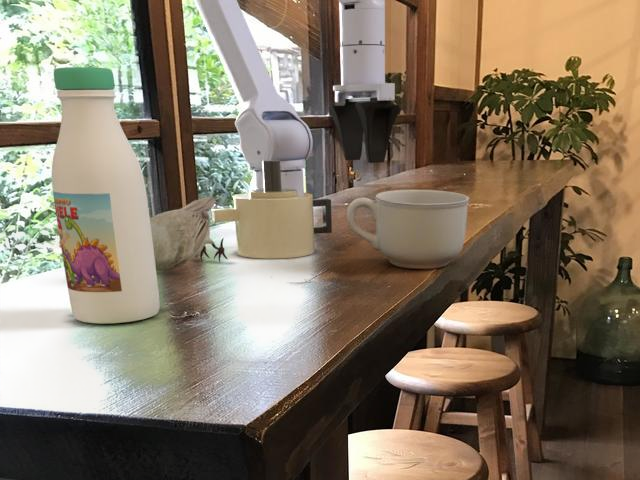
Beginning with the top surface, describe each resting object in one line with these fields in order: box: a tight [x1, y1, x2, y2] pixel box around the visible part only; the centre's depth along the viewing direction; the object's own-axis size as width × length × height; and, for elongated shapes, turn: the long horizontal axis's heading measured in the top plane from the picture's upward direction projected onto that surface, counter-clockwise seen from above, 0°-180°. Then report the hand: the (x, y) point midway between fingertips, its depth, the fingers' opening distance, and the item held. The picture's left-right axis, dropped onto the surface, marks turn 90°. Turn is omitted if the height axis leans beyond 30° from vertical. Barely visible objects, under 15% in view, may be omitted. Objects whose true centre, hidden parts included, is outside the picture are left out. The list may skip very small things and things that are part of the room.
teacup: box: [346, 189, 470, 270], centre depth 94 cm, size 14×11×8 cm
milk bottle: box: [51, 66, 161, 324], centre depth 69 cm, size 8×8×20 cm
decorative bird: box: [150, 196, 228, 272], centre depth 91 cm, size 5×16×8 cm, turn 152°
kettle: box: [210, 160, 333, 260], centre depth 103 cm, size 16×10×11 cm, turn 115°
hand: (364, 161), depth 109 cm, fingers open, 7 cm apart
